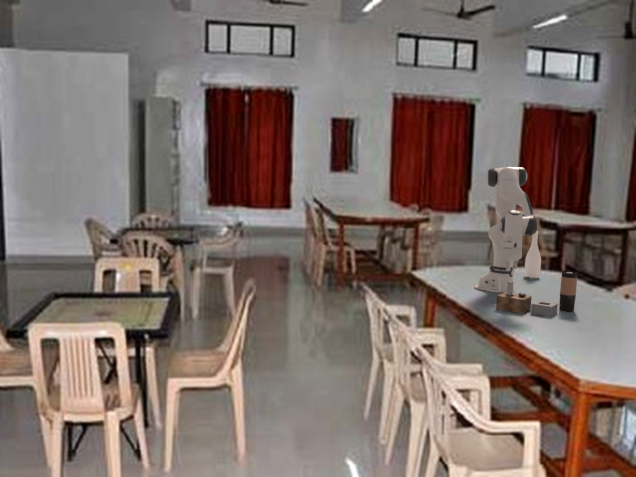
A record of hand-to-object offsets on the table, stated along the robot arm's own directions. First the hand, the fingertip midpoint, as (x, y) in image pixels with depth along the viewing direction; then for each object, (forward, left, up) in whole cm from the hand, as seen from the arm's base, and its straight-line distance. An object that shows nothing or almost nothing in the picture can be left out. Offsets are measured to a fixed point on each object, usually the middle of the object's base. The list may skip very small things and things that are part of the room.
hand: (511, 269), depth 360 cm
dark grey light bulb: (+6, 0, -20) cm, 21 cm away
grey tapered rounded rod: (0, 0, -20) cm, 20 cm away
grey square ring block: (+17, +2, -20) cm, 27 cm away
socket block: (+2, 0, -20) cm, 20 cm away
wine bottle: (-20, +98, -20) cm, 102 cm away
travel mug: (+24, +17, -20) cm, 36 cm away
